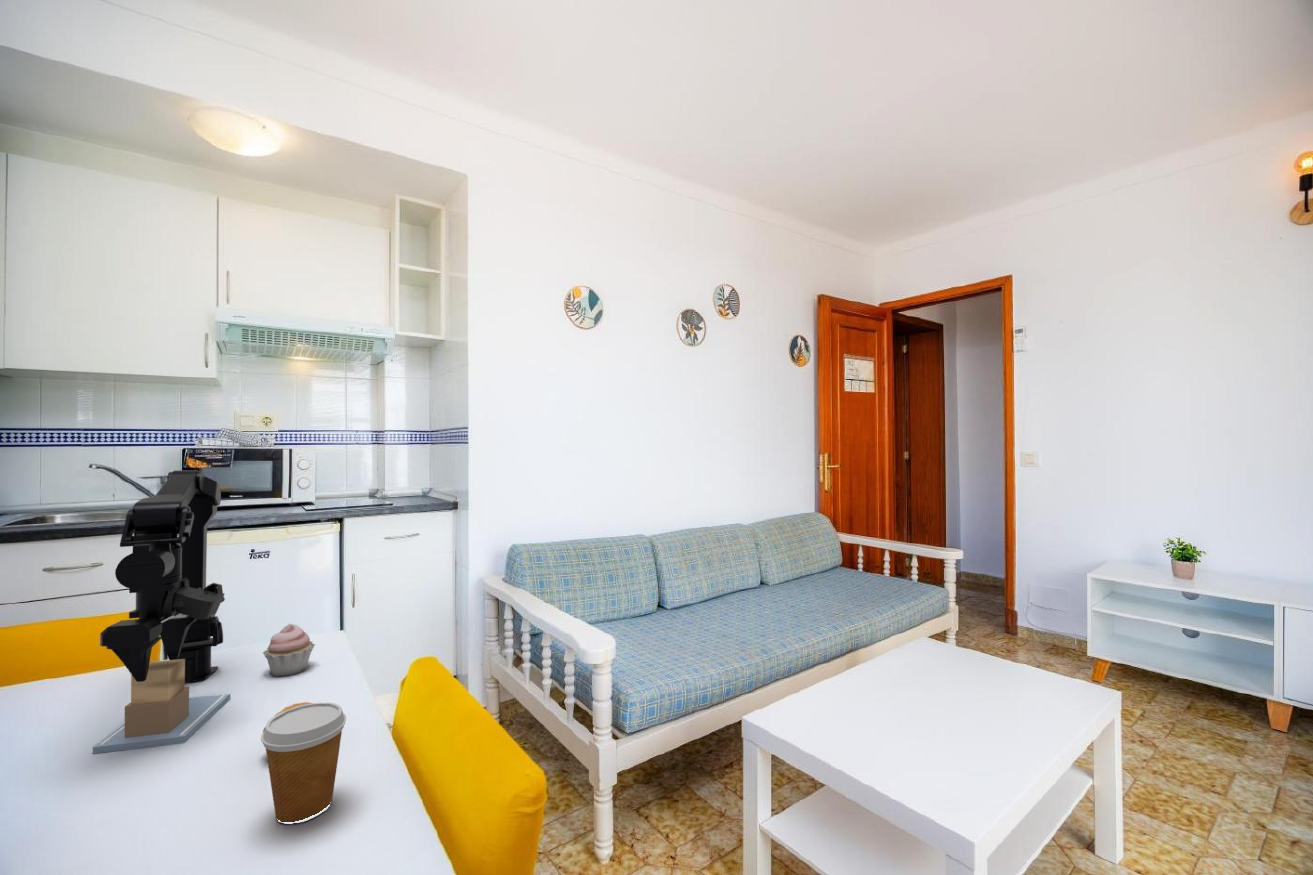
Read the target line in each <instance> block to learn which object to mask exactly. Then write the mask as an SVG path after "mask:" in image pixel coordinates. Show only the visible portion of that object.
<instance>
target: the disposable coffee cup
mask: <svg viewBox="0 0 1313 875" xmlns="http://www.w3.org/2000/svg"><path fill="white" fill-rule="evenodd" d="M311 703H312V704H306V705H301V706H298V707H294V708H292V709H289V710H286V711H284V712H281V713H279V714H277V713H276V714H277V715H276V714H275V715H276V716H275V715H274V716H273V717H271V718H270V719H269V720H268V721H267V722H266V725H265V726H264V728H265V730H264V729H263V730H264V732H263V731H262V733H261V735H260V741H261V742H262V745H263V747H264V748H265V753H266V761H267V765H268V766H267V767H268V773H269V779H270V787H271V793H272V800H273V807H274V814H275V819H276V818H277V819H278V820H280V821H281V822H295V821H299V820H303V819H305V818H308V817H310V816H312V815H315V814H317V813H319V812H320V811H322V810H323V809H324V808H326V807H327V806H328V805H329V804H330V802H331V801H332V802H333V798H334V789H335V783H336V776H337V775H336V774H337V770H338V762H339V755H340V754H339V753H340V747H341V740H342V734H343V729H344V727H345V725H346V722H347V715H346V714H345V713H344V712H343V708H342V707H341V705H339V704H338V703H335V702H311Z"/></svg>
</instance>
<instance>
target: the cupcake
mask: <svg viewBox="0 0 1313 875" xmlns="http://www.w3.org/2000/svg"><path fill="white" fill-rule="evenodd" d="M315 646H316V643H313V641H311V638H310V636H309V635H308V633H307V632H305V630H303V629H302V628H301V627H300V626H299V625H297V624H293V623H288V624H287V625H285V626H284V627H283V628H282V629H281V630H280V631H279V632H278V633H276V634H275V633H274V634H273V635H272V636H271V638H270V642H269V644H268V646H267V647H266V650H263V652H262V653H263V655H264V657H265V659H266V660H267V663H268V666H269V667H268V668H269V671H270V674H271V675H272V676H275V677H285V676H286V677H287V676H291V675H295V674H299V673H301V672H303V671H304V670H306V669H305V668H307V667H308V664H309V661H310V657H311V655H312V654H311V653H312V651H313V650H314V648H315Z"/></svg>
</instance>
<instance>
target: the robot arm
mask: <svg viewBox="0 0 1313 875" xmlns="http://www.w3.org/2000/svg"><path fill="white" fill-rule="evenodd" d="M221 495H222V493H221V488H220V486H219V484H218V482H217V481H216V480H214V479H211V478H209V477H207V476H205V474H204V472H203V471H201V470H200V471H198V470H197V469H194V470H192V469H191V470H189V469H188V470H186V469H184V470H173V471H169V472H168V473H167V478H166V481H165V482H164V483H163V485H162V486H161V487H160V488H159V490H158V492H157V493H156V494H155V495H154V496H150V497H145V498H141V499H139V500H138V501H136V502H135V503H134V504H133V505H132V508H130V509H128V511H127V514H126V517H125V522H124V526H123V529H122V533H121V534H122V535H121V537H120V543H119V547H120V548H128V547H132V553H130V554H128V555H126V556H125V557H123V558H122V559H121V560H120V561H119V562H118V564H117V566H116V568H115V572H114V574H115V575H114V576H115V578H116V580H117V582H118V583H119V584H120V585H121V586H123V587H125V588H127V589H128V591H129V594H135V609H134V610H131V611H129V612H128V619H121V620H120V621H118V622H115V623H113V624H111V625H109V626H107V627H106V628H105V629H104V630H102V631H101V632H100V634H99V637H100V638H99V646H100V647H103V648H104V647H106V649H107V650H111V651H112V652H113V653H114V654H115V656H117V658H119V660H120V661H121V663H123V665H124V666H125V668H126V669H127V670H128V672H129V673H130V674H132V676H133V677H134V679H135V680H136V681H137V682H142V681H145V680H146V678H147V674H148V669H149V663H150V662H151V654H152V649H153V647H154V646H155V645H156V644H157V643H158V642H160V640H161V642H162V645H163V650H164V654H166V655H167V658H168V660H178V659H185V683H191V682H200V681H205V680H207V679H208V678H209V677H210V676H211V675H212V674H214V673H215V672H216V671H218V670H219V666H217V665H216V666H212V647H217V646H218V645H220V644H223V643H224V632H223V624H222V622H221V621H220V619H219V618H220V617H219V616H216V614H217V613H218V610H219V608H220V606H221V604H222V603H224V602H225V600H226V598H225V593H224V592H223V585H222V584H220V583H216V582H212V583H210V584H208V585H207V556H208V555H207V553H208V552H207V550H208V548H207V546H208V542H207V540H208V525H210V522H211V521H212V520H213V519H214V518H215V516H216V515H217V513H218V506H220V505H221V500H222V496H221Z"/></svg>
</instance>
